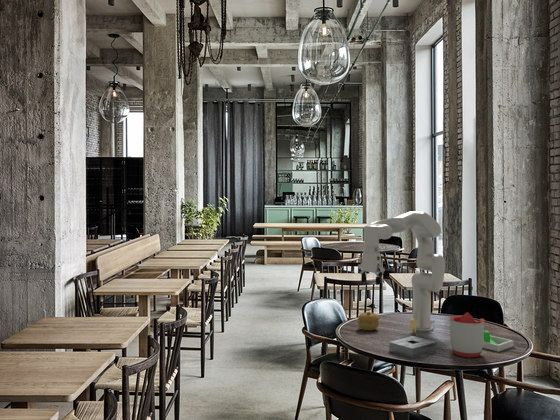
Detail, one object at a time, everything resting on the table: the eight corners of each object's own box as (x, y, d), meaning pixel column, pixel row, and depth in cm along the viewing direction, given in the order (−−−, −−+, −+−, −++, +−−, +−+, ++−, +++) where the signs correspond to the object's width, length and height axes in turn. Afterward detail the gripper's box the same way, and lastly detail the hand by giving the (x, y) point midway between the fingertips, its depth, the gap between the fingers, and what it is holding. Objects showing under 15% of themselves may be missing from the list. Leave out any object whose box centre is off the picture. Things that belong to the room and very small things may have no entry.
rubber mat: (411, 335, 293) (411, 334, 293) (426, 339, 285) (426, 338, 285) (399, 339, 287) (399, 338, 287) (414, 343, 279) (414, 342, 279)
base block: (412, 344, 276) (412, 335, 276) (436, 351, 265) (436, 341, 265) (389, 351, 265) (389, 341, 265) (412, 358, 254) (412, 348, 254)
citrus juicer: (493, 355, 259) (494, 313, 258) (469, 361, 250) (470, 317, 249) (466, 347, 272) (466, 307, 271) (442, 352, 263) (442, 311, 262)
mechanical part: (498, 348, 271) (498, 332, 271) (486, 348, 271) (486, 332, 271) (487, 341, 283) (488, 326, 283) (476, 341, 283) (476, 326, 283)
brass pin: (412, 337, 288) (412, 318, 288) (417, 338, 286) (417, 319, 285) (408, 338, 286) (408, 319, 286) (413, 339, 284) (413, 320, 283)
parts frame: (476, 337, 289) (477, 332, 289) (513, 346, 274) (513, 340, 274) (461, 342, 280) (461, 336, 280) (498, 351, 265) (498, 345, 265)
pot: (376, 326, 312) (376, 309, 311) (381, 332, 300) (381, 314, 300) (356, 327, 311) (356, 309, 311) (359, 332, 300) (359, 314, 299)
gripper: (389, 250, 274) (389, 284, 275) (363, 247, 288) (363, 280, 288) (379, 251, 270) (378, 286, 270) (353, 248, 283) (353, 281, 284)
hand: (370, 283), depth 279 cm, fingers open, 9 cm apart
